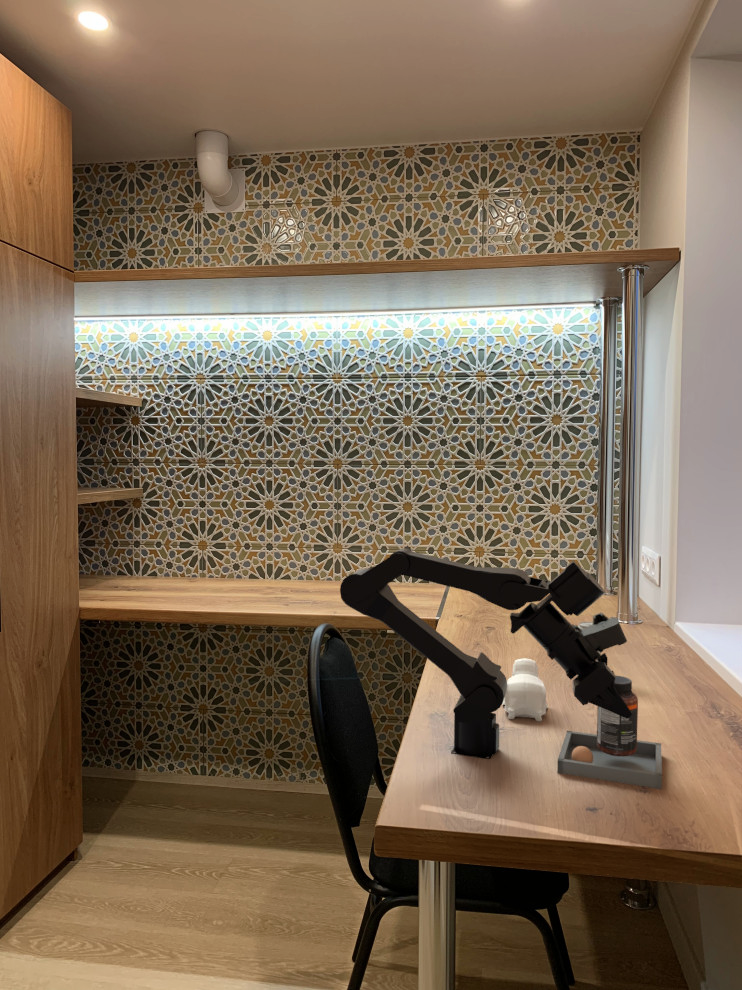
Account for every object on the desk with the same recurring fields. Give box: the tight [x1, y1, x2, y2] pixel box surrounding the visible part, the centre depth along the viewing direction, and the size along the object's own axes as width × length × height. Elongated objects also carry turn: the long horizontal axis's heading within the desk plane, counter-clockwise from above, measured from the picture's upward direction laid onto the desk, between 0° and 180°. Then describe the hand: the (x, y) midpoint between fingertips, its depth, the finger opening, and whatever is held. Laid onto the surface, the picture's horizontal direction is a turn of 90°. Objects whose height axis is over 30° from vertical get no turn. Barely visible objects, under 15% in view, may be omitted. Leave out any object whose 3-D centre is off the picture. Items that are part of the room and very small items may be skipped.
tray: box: [557, 730, 663, 790], centre depth 113 cm, size 15×13×2 cm
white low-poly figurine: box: [501, 657, 549, 722], centre depth 138 cm, size 9×8×15 cm
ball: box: [572, 746, 593, 763], centre depth 111 cm, size 3×3×3 cm
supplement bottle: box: [595, 675, 639, 756], centre depth 113 cm, size 6×6×11 cm
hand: (626, 709), depth 113 cm, fingers closed on supplement bottle, 6 cm apart
